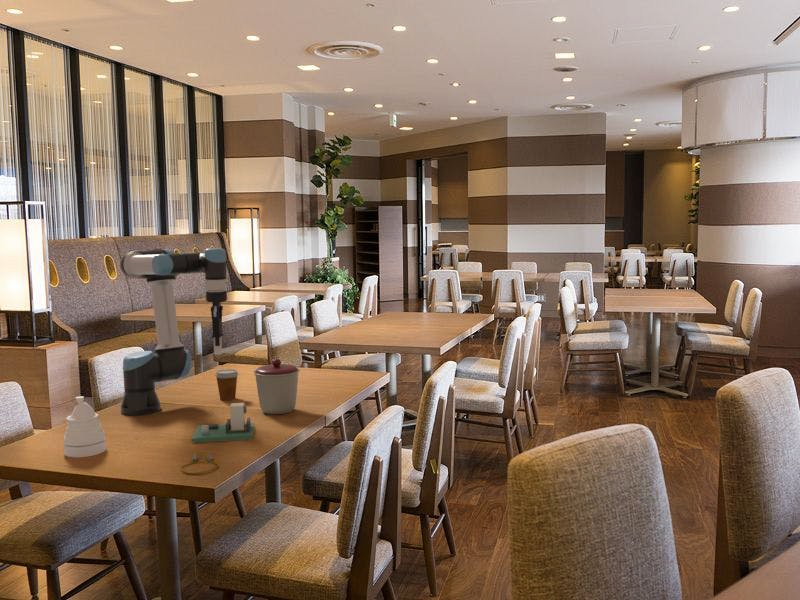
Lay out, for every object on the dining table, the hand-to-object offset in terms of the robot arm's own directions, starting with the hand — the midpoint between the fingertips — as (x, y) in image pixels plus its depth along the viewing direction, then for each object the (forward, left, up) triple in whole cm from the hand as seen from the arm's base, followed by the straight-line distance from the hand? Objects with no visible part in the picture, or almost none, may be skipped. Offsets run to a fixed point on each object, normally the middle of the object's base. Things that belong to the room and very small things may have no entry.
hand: (218, 354), depth 272 cm
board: (+3, -14, -27) cm, 30 cm away
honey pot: (-41, -25, -27) cm, 55 cm away
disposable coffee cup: (-1, +40, -27) cm, 48 cm away
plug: (+7, -14, -25) cm, 30 cm away
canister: (+21, +15, -27) cm, 37 cm away
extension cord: (-1, -48, -27) cm, 55 cm away
